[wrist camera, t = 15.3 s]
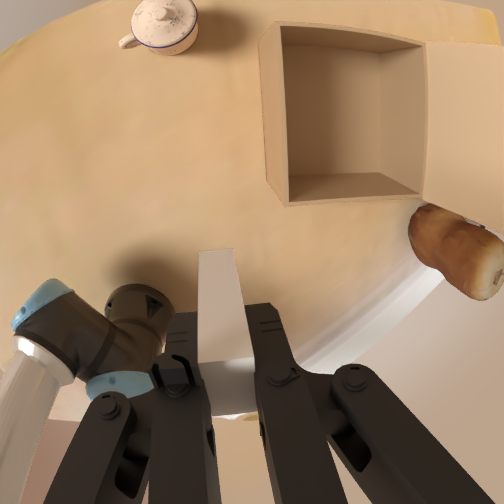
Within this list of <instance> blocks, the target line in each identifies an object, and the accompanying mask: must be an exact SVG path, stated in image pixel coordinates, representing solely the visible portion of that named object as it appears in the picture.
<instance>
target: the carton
mask: <svg viewBox="0 0 504 504" xmlns="http://www.w3.org/2000/svg"><path fill="white" fill-rule="evenodd" d="M258 51H259V65H260V79H261V94H262V110H263V126H264V143H265V161H266V180H267V182H268V183H269V185H270V186H271V188H272V189H273V191H274V192H275V194H276V195H277V197H278V198H279V200H280V201H281V203H282V204H283V206H284V207H292V206H303V205H315V204H328V203H341V202H356V201H371V200H389V199H408V198H423V189H424V180H425V169H426V157H427V140H428V69H427V54H426V43H423V42H420V41H416V40H412V39H408V38H404V37H400V36H396V35H391V34H386V33H381V32H376V31H371V30H365V29H359V28H352V27H345V26H337V25H329V24H318V23H305V22H283V21H274V23H273V24H272V25H271V27H270V28H269V29H268V30H267V32H266V33H265V34H264V35H263V37H262V38H261V39H260V41H259V42H258Z"/></svg>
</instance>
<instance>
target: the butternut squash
mask: <svg viewBox="0 0 504 504" xmlns="http://www.w3.org/2000/svg"><path fill="white" fill-rule="evenodd" d="M408 235H409V240H410V243H411V246H412V249H413V251H414V253H415V254H416V256H417V258H418V259H419V260H420V261H421V262H422V263H423V264H425V265H426V266H428V267H431V268H434V269H437V270H438V271H440V272H441V273H442V274H443V275H444V277H445V278H446V280H447V281H448V282H449V283H450V284H451V285H453V286H454V287H456V288H457V289H458V290H460V291H461V292H462V293H464V294H465V295H467V296H468V297H470V298H472V299H475V300H478V301H484V300H487V299H489V298H491V297H492V296H493V295H495V294H496V293H497V292H498V290H499V289H500V287H501V286H502V284H503V282H504V242H503V241H502V240H500V239H499V238H498V237H497V236H496V235H494V234H493V233H491V232H490V231H488V230H486V229H483V228H481V227H478V226H476V225H472V224H469V223H467V222H466V221H465V219H464V218H463V216H461V215H459V214H456V213H454V212H452V211H449V210H447V209H444V208H442V207H439V206H437V205H434V204H432V203H430V204H427V205H425V206H423V207H419V208H418V209H417V211H416V212H415V213H414V214H413V215H412V217H411V220H410V223H409V226H408Z"/></svg>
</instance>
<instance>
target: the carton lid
mask: <svg viewBox="0 0 504 504" xmlns="http://www.w3.org/2000/svg"><path fill="white" fill-rule="evenodd" d="M425 42H426V54H427V69H428V140H427V157H426V169H425V180H424V189H423V198H422V200H424V201H427V202H429V203H432V204H434V205H437V206H439V207H442V208H444V209H447V210H449V211H452V212H454V213H456V214H459V215H461V216H463V217H466V218H468V219H470V220H472V221H475V222H477V223H479V224H481V225H483V226H486V227H488V228H490V229H492V230H494V231H496V232H498V233H500V234H502V235H504V46H500V45H491V44H481V43H469V42H447V41H425Z"/></svg>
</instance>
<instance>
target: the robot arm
mask: <svg viewBox="0 0 504 504" xmlns="http://www.w3.org/2000/svg"><path fill="white" fill-rule="evenodd" d="M11 327H12V328H13V331H15V332H16V333H15V334H14V336H13V338H12V340H11V343H12V347H13V351H14V356H13V358H12V359H11V361H10V363H9V365H8V367H7V369H6V371H5V373H4V375H3V377H2V379H1V381H0V504H20V502H21V498H22V494H23V491H24V487H25V484H26V480H27V477H28V473H29V470H30V467H31V464H32V460H33V457H34V454H35V452H36V449H37V445H38V443H39V440H40V437H41V435H42V432H43V429H44V426H45V424H46V421H47V419H48V416H49V414H50V411H51V409H52V406H53V404H54V401H55V399H56V396H57V394H58V392H59V389H60V387H62V386H65V385H69V384H72V383H73V382H74V380H75V377H78V378H79V379H81V380H82V381H83V382H85V383H87V384H86V393H87V395H88V397H89V398H90V400H91V401H92V402H91V403H90V405H89V407H88V409H87V411H86V413H85V415H84V417H83V419H82V421H81V423H80V425H79V427H78V429H77V431H76V433H75V435H74V437H73V439H72V441H71V443H70V445H69V447H68V449H67V451H66V453H65V456H64V458H63V460H62V462H61V464H60V466H59V469H58V471H57V473H56V475H55V477H54V480H53V482H52V484H51V486H50V489H49V491H48V493H47V496H46V498H45V500H44V503H43V504H141V503H142V500H143V497H144V494H145V490H146V487H147V484H148V481H149V496H148V497H149V498H148V500H149V501H148V502H149V503H148V504H222V502H221V494H220V485H219V476H218V467H217V456H216V445H215V433H214V429H213V425H212V417H211V413H212V416H221V415H231V414H240V413H248V412H255V411H258V415H259V425H260V436H262V441H263V446H264V451H265V456H266V462H267V466H268V472H269V477H270V481H271V486H272V491H273V496H274V501H275V504H348V502H347V499H346V496H345V493H344V490H343V487H342V484H341V481H340V478H339V475H338V472H337V469H336V466H335V463H334V460H333V457H332V454H331V451H330V448H329V445H328V442H329V444H330V445H331V447H332V448H333V450H334V451H335V452H336V454H337V455H338V457H339V458H340V460H341V461H342V462H343V464H344V465H345V467H346V468H347V470H348V471H349V472H350V474H351V475H352V476H353V478H354V479H355V481H356V482H357V483H358V485H359V486H360V488H361V489H362V490H363V492H364V493H365V494H366V496H367V497H368V499H369V500H370V501H371V503H372V504H495V503H494V502H493V500H492V499H491V498H490V497H489V496H488V495H487V494H486V493H485V492H484V491H483V489H482V488H481V487H480V486H479V485H478V484H477V483H476V482H475V481H474V480H473V478H472V477H471V476H470V475H469V474H468V473H467V472H466V471H465V470H464V469H463V468H462V466H461V465H460V464H459V463H458V462H457V461H456V460H455V459H454V458H453V457H452V456H451V454H450V453H448V451H447V450H446V449H445V448H444V447H443V446H442V445H441V444H440V442H439V441H438V440H437V439H436V438H435V437H434V436H433V435H432V434H431V433H430V432H429V431H428V429H427V428H426V427H425V426H424V425H423V424H422V423H421V422H420V421H419V420H418V419H417V418H416V417H415V415H414V414H413V413H412V412H411V411H410V410H409V409H408V408H407V407H406V406H405V405H404V404H403V402H402V401H401V400H400V399H399V398H398V397H397V396H396V395H395V394H394V393H393V392H392V391H391V390H390V389H389V387H388V386H387V385H386V384H385V383H384V382H383V381H382V380H381V379H380V378H379V377H378V376H377V375H376V374H375V372H374V371H372V370H371V369H370V368H368V367H366V366H364V365H361V364H347V365H344V366H342V367H340V368H339V369H337V370H336V371H335V373H334V375H332V374H317V373H311V372H309V371H306V370H304V369H303V368H301V367H300V366H299V365H298V364H297V363H296V362H295V360H294V358H293V355H292V352H291V349H290V346H289V343H288V340H287V337H286V334H285V331H284V329H283V325H282V322H281V319H280V316H279V313H278V310H277V309H276V308H274V307H273V306H272V305H271V304H270V303H261V304H253V305H245V306H244V303H243V298H242V293H241V288H240V283H239V278H238V272H237V267H236V262H235V256H234V251H233V248H229V249H220V250H210V251H201V252H199V276H198V312H188V313H177V314H174V310H173V307H172V305H171V303H170V302H169V300H168V299H167V298H166V297H165V296H164V295H163V294H161V293H160V292H158V291H157V290H155V289H153V288H151V287H148V286H144V285H138V284H130V285H125V286H122V287H120V288H118V289H116V290H115V291H114V292H113V293H112V294H111V295H110V297H109V299H108V301H107V303H106V306H105V317H104V316H103V315H102V314H100V313H99V312H98V311H97V310H95V309H94V308H93V307H92V306H90V305H89V304H88V303H87V302H85V301H84V300H83V299H82V298H81V297H79V296H78V295H77V294H76V293H75V291H74V290H73V289H70V288H68V287H67V286H66V285H65V284H63V283H62V282H61V281H59V280H58V279H49V280H47V281H46V282H44V283H43V284H42V285H41V286H40V287H39V288H38V289H37V290H36V291H35V292H34V293H33V294H32V295H31V297H30V298H29V299H28V300H27V301H26V302H25V304H24V306H23V307H22V308H21V309H20V310H19V311H18V313H17V314H16V315H15V317H14V318H13V320H12V322H11ZM165 342H166V344H165ZM164 344H165V352H164V353H162V347H163V345H164ZM161 353H162V354H161ZM327 441H328V442H327Z"/></svg>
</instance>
